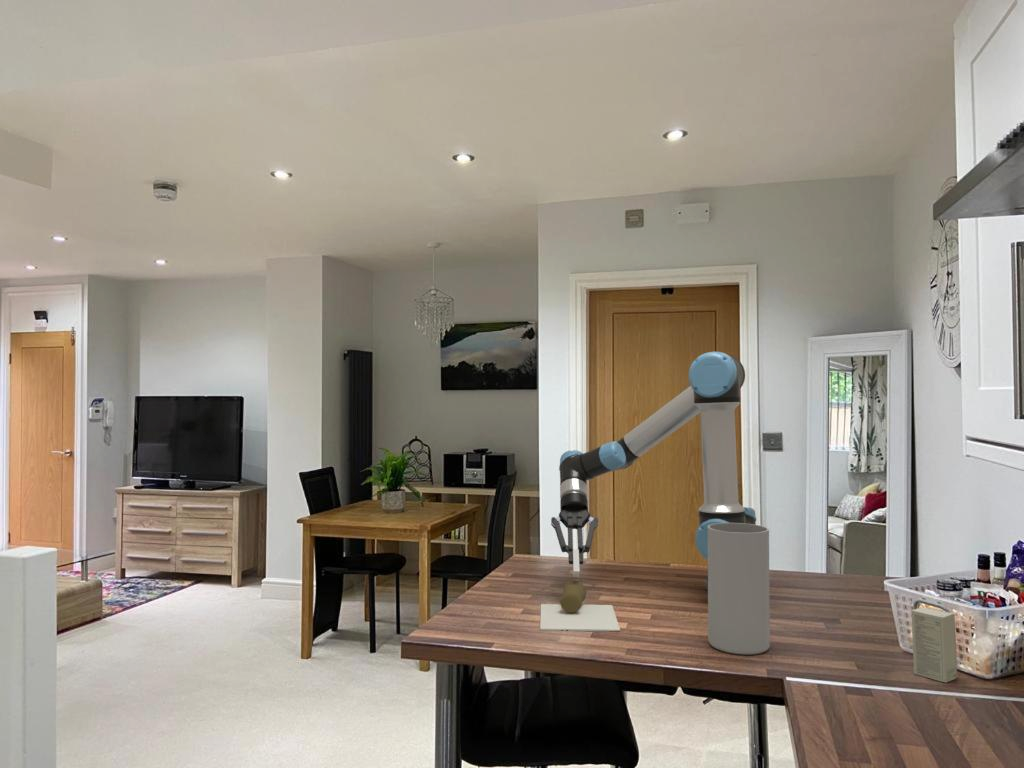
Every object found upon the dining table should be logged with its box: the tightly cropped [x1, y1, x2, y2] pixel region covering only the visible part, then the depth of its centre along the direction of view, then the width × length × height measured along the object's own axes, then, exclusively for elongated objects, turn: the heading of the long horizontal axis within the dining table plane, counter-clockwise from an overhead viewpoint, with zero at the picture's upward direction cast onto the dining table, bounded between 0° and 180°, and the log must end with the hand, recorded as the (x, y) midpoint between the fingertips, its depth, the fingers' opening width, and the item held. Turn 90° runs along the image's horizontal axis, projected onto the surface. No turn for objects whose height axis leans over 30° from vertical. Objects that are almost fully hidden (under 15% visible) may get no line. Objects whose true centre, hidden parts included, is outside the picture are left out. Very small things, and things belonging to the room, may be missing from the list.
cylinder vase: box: [707, 523, 771, 656], centre depth 156 cm, size 12×12×25 cm
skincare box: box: [911, 606, 958, 683], centre depth 138 cm, size 6×4×12 cm
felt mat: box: [539, 603, 621, 632], centre depth 175 cm, size 20×18×1 cm
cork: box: [559, 580, 587, 613], centre depth 182 cm, size 6×6×11 cm
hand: (576, 574), depth 185 cm, fingers closed
